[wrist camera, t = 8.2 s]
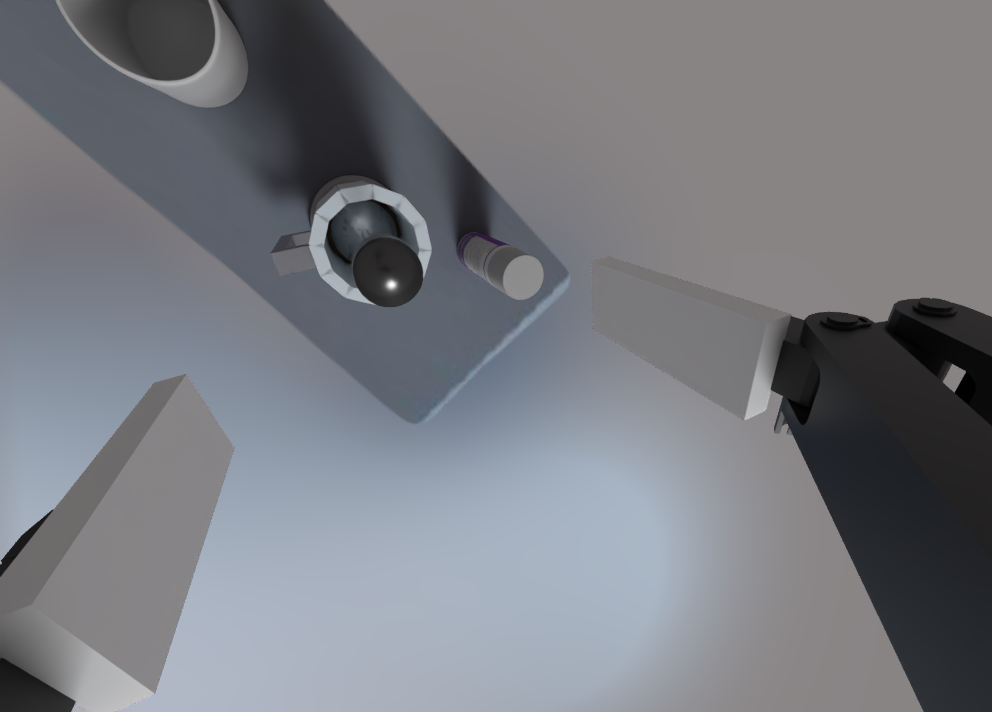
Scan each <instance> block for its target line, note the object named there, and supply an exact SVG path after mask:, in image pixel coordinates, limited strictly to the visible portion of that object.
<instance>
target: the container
mask: <svg viewBox="0 0 992 712" xmlns="http://www.w3.org/2000/svg"><path fill="white" fill-rule="evenodd" d="M457 255H458V258H459V260H460V262H461V263H462V264H463V265H464V266H466V267H467V268H469V269H470V270H471V271H473V272H474V273H476V274H477V275H478V276H480V277H481V278H483V279H484V280H485V281H487V282H488V283H490V284H491V285H492V286H494V287H496V288H497V289H499V290H501V291H502V292H504V293H506V294H507V295H509V296H510V297H512V298H514V299H518V300H523V299H527V298H529V297H531V296H533V295H534V294H535V293H536V292H537V291H538V290H539V288H540V286H541V284H542V281H543V268H542V265H541V263H540V262H539V261H538V260H537V259H536V258H535V257H533V256H531V255H529V254H527V253H525V252H523V251H521V250H519V249H517V248H515V247H513V246H510V245H508V244H506V243H503V242H501V241H498V240H496V239H494V238H491V237H489V236H486V235H484V234H481V233H478V232H471V233H468V234H466V235H465V236H463V237H462V239H461V240H460V242H459V244H458V247H457Z"/></svg>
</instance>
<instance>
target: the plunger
mask: <svg viewBox="0 0 992 712" xmlns="http://www.w3.org/2000/svg"><path fill="white" fill-rule="evenodd" d="M331 232H332V238H333V241H334V244H335V246H336V247H337V249H338V250H339V252H340V253H341V254H342V255H343V256H344V257H346V258H347V259H349V260H350V261H352V271H353V275H354V279H355V283H356V285H357V288H358V289H359V291H360V292H361V294H362V295H363V296H364V297H365V298H366V299H367V300H369V301H370V302H372V303H374V304H376V305H379V306H383V307H396V306H400V305H403V304H405V303H407V302H409V301H410V300H411V299H412V298H414V296H415V295H416V294H417V293H418V291H419V290H420V288H421V285H422V281H423V268H422V264H421V261H420V259H419V257H418V256H417V254H416V253H415V252H414V251H413V250H412V249H411V248H410V247H409V246H408V245H407V244H406V243H405V242H403V241H402V240H401V239H399V238H397V231H396V226H395V223H394V221H393V219H392V217H391V216H390V215H389V213H388V212H387V211H386V210H385V209H384V208H382V207H381V206H380V205H378V204H376V203H374V202H371V201H368V200H364V201H359V202H353V203H348V204H346V205H345V206H344V207H343V208H342V209H341V210H340V211H339V212H338V213H337V214H336V215H335V216H334V218H333V220H332V226H331Z"/></svg>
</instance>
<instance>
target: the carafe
mask: <svg viewBox="0 0 992 712" xmlns="http://www.w3.org/2000/svg"><path fill="white" fill-rule="evenodd" d="M364 200H368V201H371V202H374V203H376V204H378V205H380V206H381V207H382V208H384V209H385V210H386V211H387V212H388V213H389V215H390V216H391V217H392V219H393V221H394V223H395V226H396V231H397V238H399V239H401V240H402V241H403V242H405V243H406V244H407V245H408V246H409V247H410V248H411V249H412V250H413V251H414V252H415V253H416V254H417V256H418V257H419V259H420V261H421V264H422V268H423V277H424V276H425V272H426V269H427V266H428V262H429V259H430V255H431V252H432V251H431V250H432V249H431V244H430V240H429V235H428V231H427V226H426V222H425V220H424V219H423V218H422V216H421V215H420V214H419V213H418V212H417V211H416V209H415V208H414V207H413V206H412V205H411V204H410V202H409V201H408V200H407V199H406V198H405V197H404V196H403V195H400V194H397V193H395V192H392V191H390V190H388V189H387V188H385V187H384V186H383V185H381V184H380V183H378V182H377V181H375V180H372V179H370V178H367V177H363V176H358V175H347V176H341V177H338V178H335V179H333V180H331V181H329V182H328V183H326V184H325V185H324V186H323V187H322V188H321V189H320V190H319V191H318V193H317V195H316V196H315V198H314V201H313V203H312V207H311V213H310V222H311V228H312V230H310V231H305V232H300V233H295V234H290V235H285V236H281V238H280V239H279V241H278V243H277V244H276V246H275V247H274V249H273V250H272V252H271V253H270V254H271V257H272V259H273V261H274V264H275V266H276V268H277V270H278V273H279V275H280V276H283V275H287V274H292V273H296V272H300V271H305V270H309V269H314V268H317V269H318V272H319V275H320V276H321V278H322V279H324V280H325V281H326V282H327V283H328V284H329V285H331V286H332V287H333V288H334V289H335V290H337V291H338V292H339V293H340V294H341V295H342V296H344V297H346V298H348V299H352V300H356V301H361V302H365V303H369V304H374V303H372V302H370V301H369V300H367V299H366V298H365V297H364V296H363V295H362V294H361V292H360V291H359V289H358V288H357V285H356V283H355V279H354V275H353V271H352V261H350V260H349V259H347V258H346V257H344V256H343V255H342V254H341V253H340V252H339V250H338V249H337V247H336V246H335V244H334V241H333V238H332V232H331V226H332V220H333V218H334V216H335V215H336V214H337V213H338V212H339V211H340V210H341V209H342V208H343V207H344V206H345V205H346V204H348V203H353V202H359V201H364ZM374 305H375V304H374Z"/></svg>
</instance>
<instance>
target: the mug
mask: <svg viewBox="0 0 992 712" xmlns="http://www.w3.org/2000/svg"><path fill="white" fill-rule="evenodd" d="M55 1H56V3H57V5H58V7H59V9H60V11H61V13H62V14H63V16H64V18H65V19H66V21H67V22H68V24H69V25H70V27H71V28H72V29H73V31H74V32H75V33H76V35H77V36H78V37H79V38H80V39H81V40H82V41H83V42H84V43H85V44H86V45H87V46H88V47H89V48H90V49H91V50H92V51H93V52H94V53H95V54H96V55H97V56H99V57H100V58H101V59H102V60H104V61H105V62H106V63H108V64H109V65H111V66H112V67H114V68H115V69H117V70H118V71H120V72H122V73H124V74H125V75H127V76H129V77H131V78H133V79H135V80H137V81H140V82H142V83H144V84H146V85H148V86H150V87H152V88H155V89H157V90H159V91H161V92H163V93H165V94H167V95H169V96H171V97H173V98H175V99H177V100H179V101H181V102H184V103H187V104H190V105H193V106H198V107H206V108H212V107H219V106H223V105H226V104H228V103H230V102H231V101H233V100H234V99H236V98H237V97H238V96H239V94H240V93H241V92H242V90H243V88H244V86H245V84H246V81H247V76H248V60H247V55H246V50H245V47H244V44H243V42H242V40H241V37H240V35H239V33H238V31H237V30H236V28H235V26H234V25H233V23H232V22H231V20H230V19H229V18H228V16H227V15H226V14H225V12H224V11H223V9H222V7H221V6H220V4H219V3H218V1H217V0H55Z"/></svg>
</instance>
